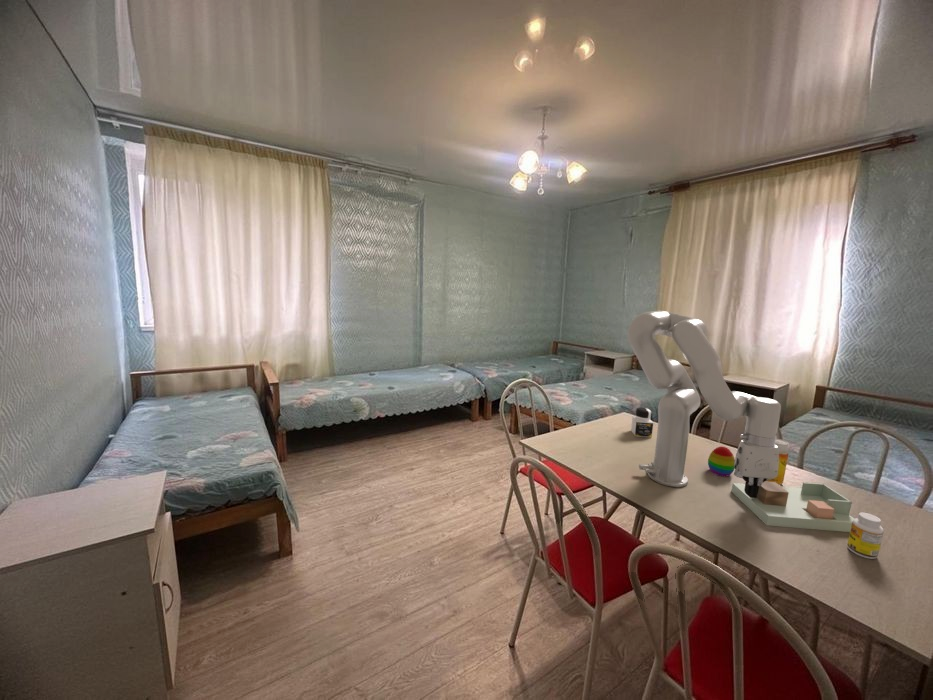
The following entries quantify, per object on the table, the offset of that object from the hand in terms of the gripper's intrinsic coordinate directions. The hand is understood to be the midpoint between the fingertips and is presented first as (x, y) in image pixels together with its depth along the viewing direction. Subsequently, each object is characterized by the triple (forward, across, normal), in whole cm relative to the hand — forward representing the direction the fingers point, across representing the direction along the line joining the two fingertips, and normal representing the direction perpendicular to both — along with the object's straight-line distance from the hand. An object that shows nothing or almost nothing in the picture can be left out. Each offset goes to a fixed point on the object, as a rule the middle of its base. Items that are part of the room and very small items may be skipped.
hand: (750, 495), depth 117 cm
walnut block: (+1, +5, 0) cm, 6 cm away
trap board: (+4, +12, 0) cm, 13 cm away
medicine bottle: (+4, -14, +55) cm, 57 cm away
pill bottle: (+4, +18, +18) cm, 26 cm away
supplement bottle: (+5, +18, -17) cm, 25 cm away
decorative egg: (+4, +3, +22) cm, 23 cm away
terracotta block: (+4, +15, -6) cm, 17 cm away
